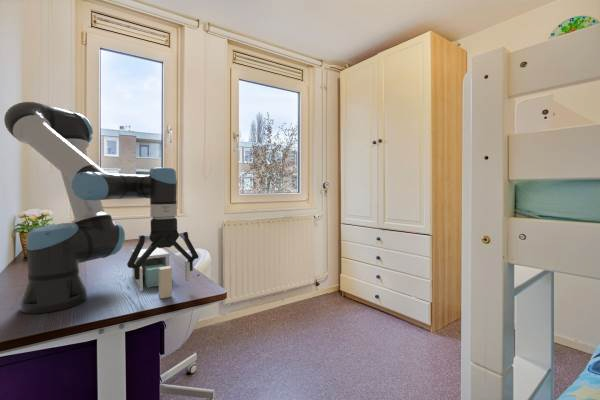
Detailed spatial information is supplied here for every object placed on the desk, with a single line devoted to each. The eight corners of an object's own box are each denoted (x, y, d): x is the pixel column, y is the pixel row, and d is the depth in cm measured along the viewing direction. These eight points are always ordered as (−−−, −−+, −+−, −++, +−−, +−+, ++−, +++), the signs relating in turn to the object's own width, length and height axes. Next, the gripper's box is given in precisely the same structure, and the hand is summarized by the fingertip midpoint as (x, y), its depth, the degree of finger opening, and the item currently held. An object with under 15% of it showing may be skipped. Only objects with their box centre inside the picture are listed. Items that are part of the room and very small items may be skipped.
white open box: (138, 285, 104) (137, 257, 103) (132, 275, 116) (131, 250, 116) (169, 280, 110) (169, 253, 109) (161, 271, 122) (160, 247, 122)
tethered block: (156, 299, 89) (155, 270, 89) (144, 283, 106) (144, 258, 105) (176, 295, 93) (176, 267, 93) (162, 279, 109) (162, 255, 109)
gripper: (118, 221, 81) (119, 297, 82) (207, 216, 96) (208, 280, 97) (115, 219, 87) (117, 289, 88) (200, 214, 102) (201, 275, 103)
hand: (165, 285), depth 92 cm, fingers open, 13 cm apart
